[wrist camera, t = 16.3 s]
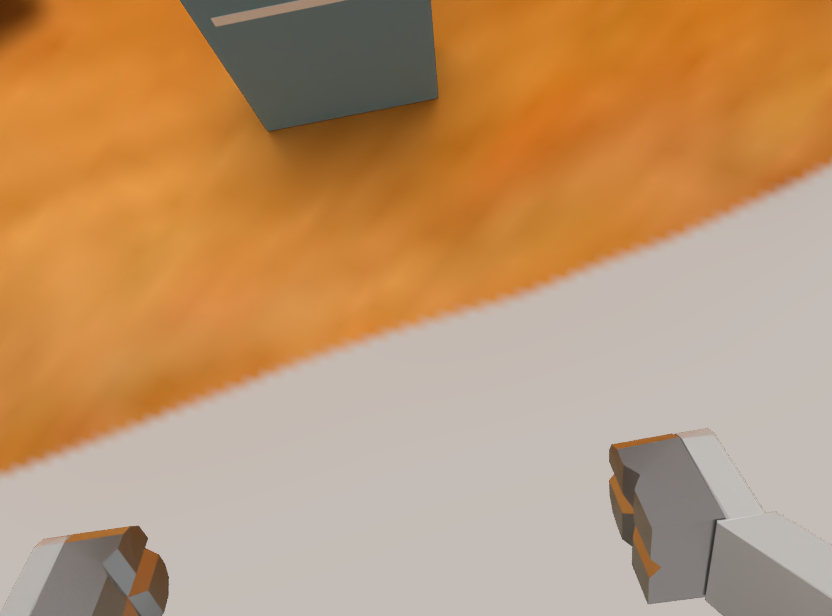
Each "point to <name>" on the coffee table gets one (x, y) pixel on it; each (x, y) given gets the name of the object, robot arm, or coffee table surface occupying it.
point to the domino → (322, 54)
